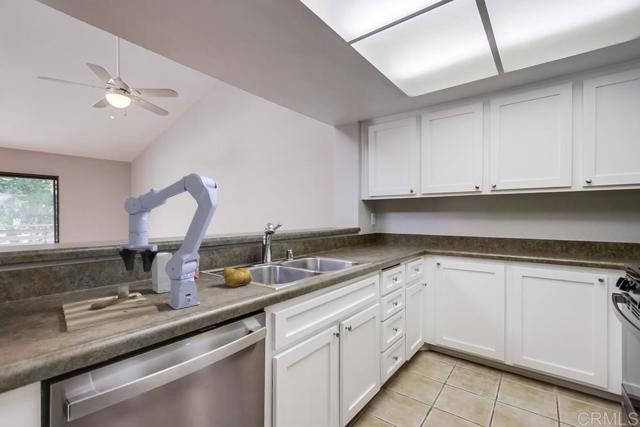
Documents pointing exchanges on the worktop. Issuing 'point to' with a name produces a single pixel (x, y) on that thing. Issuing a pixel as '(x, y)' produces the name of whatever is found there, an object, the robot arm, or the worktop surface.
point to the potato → (236, 276)
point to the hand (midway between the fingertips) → (138, 270)
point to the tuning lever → (122, 296)
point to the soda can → (196, 273)
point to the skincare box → (161, 273)
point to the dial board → (105, 311)
